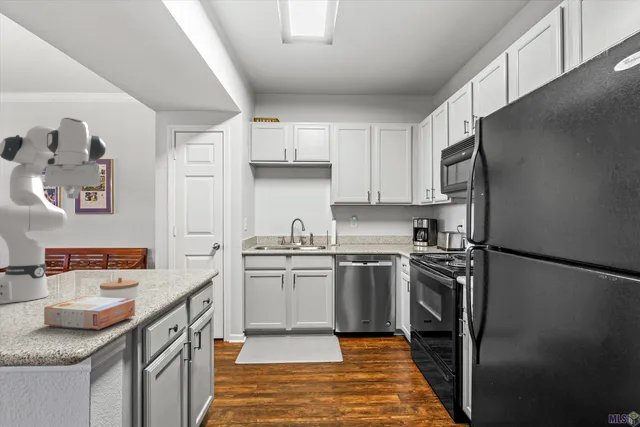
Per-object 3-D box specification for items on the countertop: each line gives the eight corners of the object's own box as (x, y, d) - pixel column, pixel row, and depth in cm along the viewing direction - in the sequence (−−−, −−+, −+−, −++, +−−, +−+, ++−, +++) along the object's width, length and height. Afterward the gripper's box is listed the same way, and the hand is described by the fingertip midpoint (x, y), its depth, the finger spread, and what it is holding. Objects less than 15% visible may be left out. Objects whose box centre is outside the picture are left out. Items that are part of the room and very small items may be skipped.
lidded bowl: (90, 311, 115) (91, 280, 115) (114, 302, 128) (115, 274, 128) (124, 311, 115) (125, 281, 115) (145, 302, 127) (145, 275, 127)
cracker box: (43, 326, 98) (98, 330, 93) (43, 306, 98) (98, 309, 94) (85, 312, 112) (136, 316, 107) (85, 295, 112) (135, 298, 107)
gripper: (105, 162, 120) (104, 199, 120) (57, 163, 123) (56, 199, 122) (91, 159, 114) (90, 197, 113) (41, 160, 116) (40, 198, 116)
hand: (72, 198), depth 118 cm, fingers closed
